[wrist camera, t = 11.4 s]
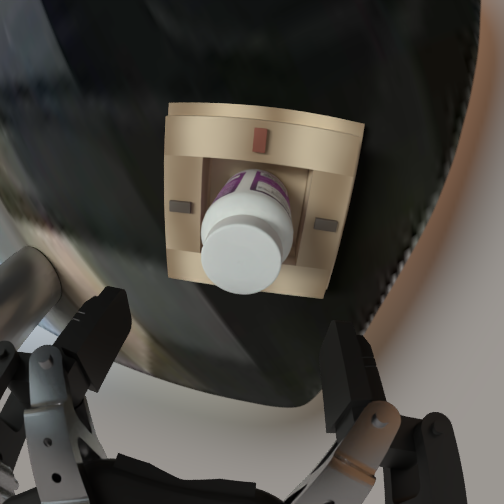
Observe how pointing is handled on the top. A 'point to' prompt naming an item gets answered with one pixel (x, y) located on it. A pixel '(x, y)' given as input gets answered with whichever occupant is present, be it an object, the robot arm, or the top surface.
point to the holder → (268, 159)
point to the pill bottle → (247, 232)
